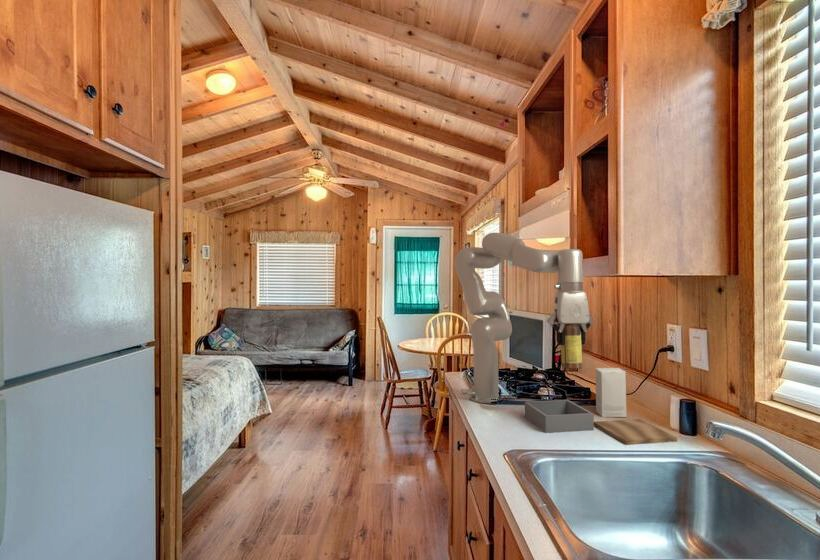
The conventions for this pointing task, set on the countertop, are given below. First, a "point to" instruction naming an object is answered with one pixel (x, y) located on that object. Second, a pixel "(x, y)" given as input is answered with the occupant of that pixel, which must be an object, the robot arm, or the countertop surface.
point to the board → (634, 431)
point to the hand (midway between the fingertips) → (571, 343)
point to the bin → (559, 416)
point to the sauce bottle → (571, 347)
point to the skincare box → (610, 392)
